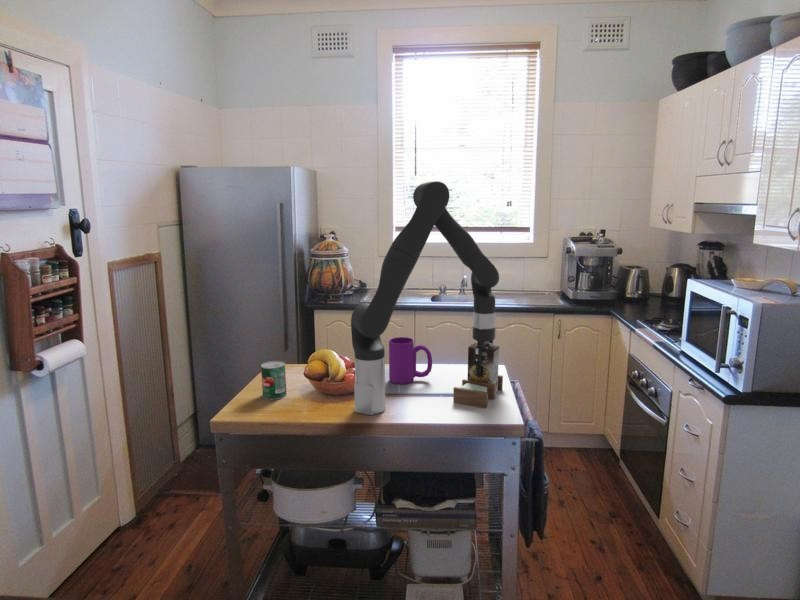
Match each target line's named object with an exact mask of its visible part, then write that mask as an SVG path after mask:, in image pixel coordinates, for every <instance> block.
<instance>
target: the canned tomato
mask: <svg viewBox="0 0 800 600" xmlns="http://www.w3.org/2000/svg"><path fill="white" fill-rule="evenodd" d="M260 373H261V389H262V398H263V399H264V398H265V400H267V399H270V400H269V401H273V400H274V399H276V400H280V398H281V399H283V398H285V397H286V396H287V378H286V362H285V361H281V360H271V361H265V362H262V363H261V365H260ZM274 401H275V400H274Z"/></svg>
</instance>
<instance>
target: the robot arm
mask: <svg viewBox="0 0 800 600" xmlns="http://www.w3.org/2000/svg"><path fill="white" fill-rule="evenodd" d="M412 197H413V198H412V199H413V203H414V205H415V207H416V208H415V210H414V213H413V214H412V216H411V219H410V220H409V221H408V222H407V224H406V225H405V227H404V228H403V229H402V230H400V232H399V233H398V234H397V236H396V237H395V239H394V240H393V242H392V243H391V245H390V247H389V249H388V250H387V253H386V254H385V257H384V258H383V261H382V265H381V268H380V269H381V270H380V276H379V282H378V286H377V289H376V292H375V294H374V296H373V298H372V300H371V301H370V303H366V302H365V303H361V304H359V305H357V306H356V307H355V308H354V310H353V311H352V314H351V318H350V329H351V331H350V332H351V343H352V344H351V345H352V348H353V351H354V377H355V378H354V380H355V382H354V384H353V386H354V387H353V388H354V389H353V390H354V391H353V392H354V412H355V413H358V414H363V415H367V416H373V415H376V414H380V413H382V412H385V410H386V376H385V375H386V369H385V368H386V367H385V366H386V365H385V364H386V363H385V361H386V360H385V358H386V356H385V354H386V353H385V352H386V351H385V346H384V344H383V342H382V339H381V335H382V334H383V333H385V331H386V329H387V328H388V326H389V323H390V320H391V318H392V316H393V313H394V309H395V307H396V305H397V302H398V299H399V298H400V296H401V294H402V293H403V292H402V291H404V288H405V286H406V283H407V282H408V279H409V278H410V276H411V274H412V272H413V270H414V269H415V266H416V264H417V262H418V261H419V258H420V255H421V253H422V251H423V249H424V247H425V245H426V243H427V241H428V239H429V237H430V235H431V232H432V230H433V228H434V227H435V228H436V229H437V230H438V232H439V233H440V234H441V235H442V237H444V239H445V240H446V241H447V243H448V245H449V246H450V248H452V250H453V251H454V253H455V254H456V256H457V257H458V259H459V260H460V261H461V263H462V264H463V265H464V266H466V268H468V269H469V270H470V271H471V274H470V283H471V289H472V295H473V315H472V328H471V329H472V332H471V333H472V335H471V337H472V339H473V340H475V341H476V343H477V345H476V347H477V348H474V349H473V361H474V363H473V364H474V365H476V376H478V377H482V376H483V365H484V359H485V355H484V356H482V353H483V351H484V349H485V348H489V347H490V346H491V345H494V340H495V339H496V323H497V322H496V320H497V319H496V318H497V317H496V297H495V295H494V294H493V292H492V288H494V287H496V286H497V284H498V283H499V282H500V274H499V271H498V269H497V268H496V266H495V265H494V264H493V263H492V261H491V260H490V259H489V258H488V257H487V256H486V255H485V254H484V253H483V252H482V249H480V247H479V246H478V244H477V242H476V241H475V239H474V238H473V237H472V235H471V234H470V233H469V232H468V231H467V230H466V229H465V228H464V227H463V226H462V225H461V224H460V223H459V222H458V221H456V220H455V219H454V217H453V216H452V215H451V214H450V213H449V211H448V209H447V206H448V204H449V200H450V190H449V188H448V186H447V185H446V183H445V182H442V181H439V180H432V181H427V182H423V183H420V184H419V185H417V187H415V189H414V191H413V195H412ZM488 346H489V347H488ZM478 359H479V362H478Z"/></svg>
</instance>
